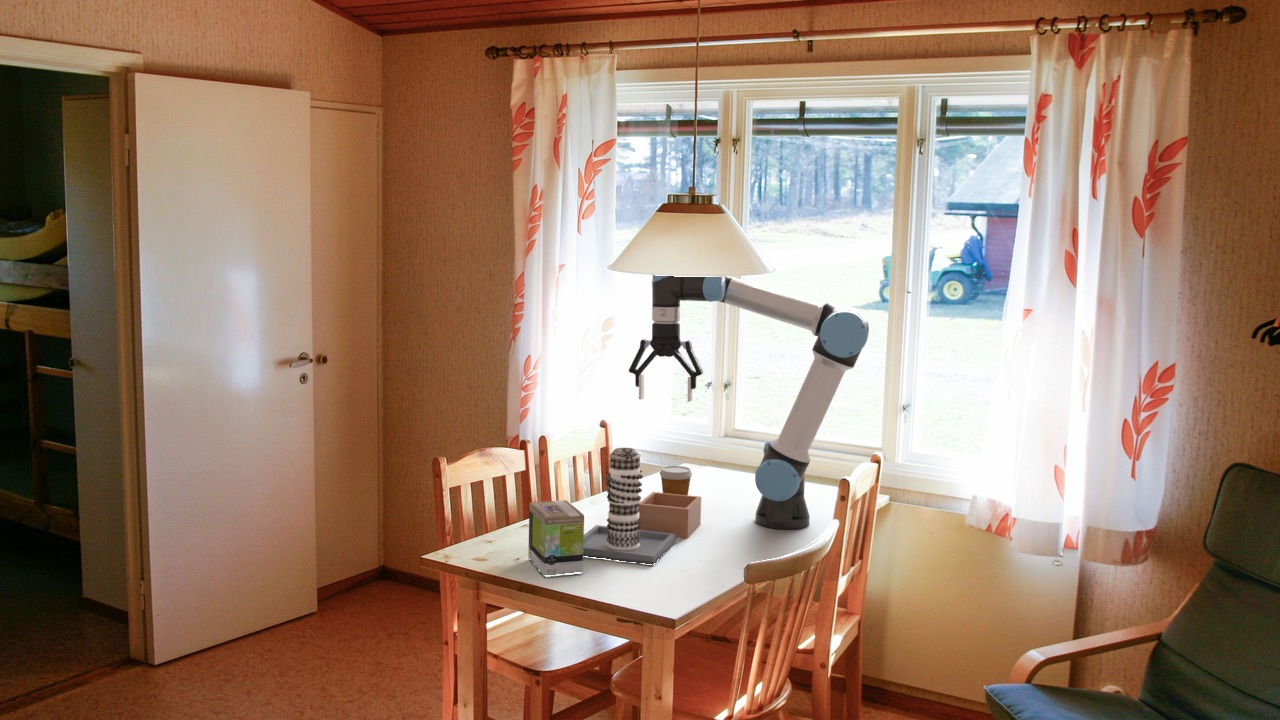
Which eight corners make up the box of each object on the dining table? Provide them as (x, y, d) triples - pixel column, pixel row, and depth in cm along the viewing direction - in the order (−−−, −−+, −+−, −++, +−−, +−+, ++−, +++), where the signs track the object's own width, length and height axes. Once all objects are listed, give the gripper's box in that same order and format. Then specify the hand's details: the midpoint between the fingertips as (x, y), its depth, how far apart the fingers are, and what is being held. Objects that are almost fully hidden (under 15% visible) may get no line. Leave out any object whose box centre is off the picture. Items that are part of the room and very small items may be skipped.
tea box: (584, 575, 246) (585, 514, 244) (543, 579, 242) (543, 517, 240) (566, 556, 260) (567, 498, 258) (527, 559, 256) (527, 501, 254)
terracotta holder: (700, 524, 289) (701, 496, 288) (687, 538, 276) (688, 509, 275) (652, 519, 293) (653, 491, 292) (637, 533, 280) (637, 504, 279)
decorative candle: (646, 542, 268) (648, 447, 265) (633, 552, 260) (635, 454, 257) (613, 538, 272) (615, 444, 268) (599, 548, 263) (601, 451, 260)
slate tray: (675, 543, 272) (675, 533, 272) (653, 566, 253) (653, 556, 253) (596, 534, 278) (596, 525, 278) (568, 555, 260) (569, 546, 259)
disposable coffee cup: (692, 505, 309) (693, 466, 308) (690, 514, 300) (691, 473, 298) (660, 504, 310) (661, 464, 309) (657, 512, 301) (658, 472, 299)
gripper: (617, 322, 281) (617, 399, 283) (708, 324, 274) (707, 403, 277) (625, 320, 288) (625, 395, 290) (713, 322, 282) (713, 399, 284)
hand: (665, 399), depth 284 cm, fingers open, 13 cm apart
